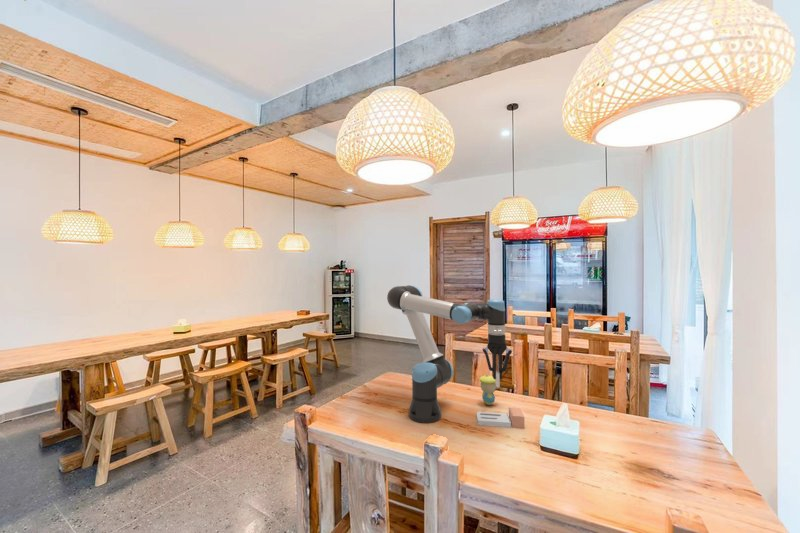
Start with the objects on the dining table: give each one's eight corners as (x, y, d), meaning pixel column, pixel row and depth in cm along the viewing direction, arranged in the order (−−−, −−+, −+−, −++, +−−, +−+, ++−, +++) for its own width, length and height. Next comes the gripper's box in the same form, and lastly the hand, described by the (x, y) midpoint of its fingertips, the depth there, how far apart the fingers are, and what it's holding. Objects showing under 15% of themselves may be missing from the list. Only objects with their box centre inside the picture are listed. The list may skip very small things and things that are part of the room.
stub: (512, 427, 138) (512, 415, 138) (508, 418, 147) (508, 407, 147) (524, 428, 137) (524, 416, 137) (520, 419, 146) (520, 407, 146)
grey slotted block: (478, 425, 140) (477, 420, 140) (476, 416, 149) (476, 411, 149) (511, 427, 138) (511, 422, 138) (507, 418, 147) (507, 413, 147)
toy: (499, 407, 158) (499, 377, 158) (481, 407, 158) (481, 377, 159) (495, 401, 166) (495, 372, 166) (478, 401, 166) (477, 372, 167)
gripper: (482, 335, 141) (483, 388, 141) (513, 335, 139) (514, 390, 139) (481, 332, 149) (482, 382, 148) (510, 332, 147) (511, 384, 146)
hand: (497, 386), depth 143 cm, fingers closed
